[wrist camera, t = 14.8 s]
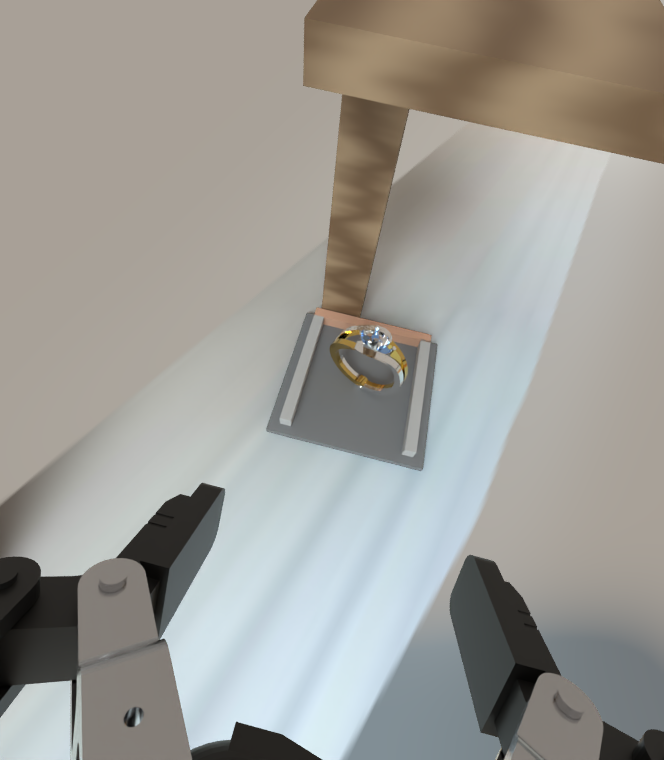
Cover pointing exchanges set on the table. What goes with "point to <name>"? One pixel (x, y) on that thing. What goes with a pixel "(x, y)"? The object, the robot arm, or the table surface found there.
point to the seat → (356, 394)
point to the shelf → (473, 91)
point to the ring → (372, 349)
